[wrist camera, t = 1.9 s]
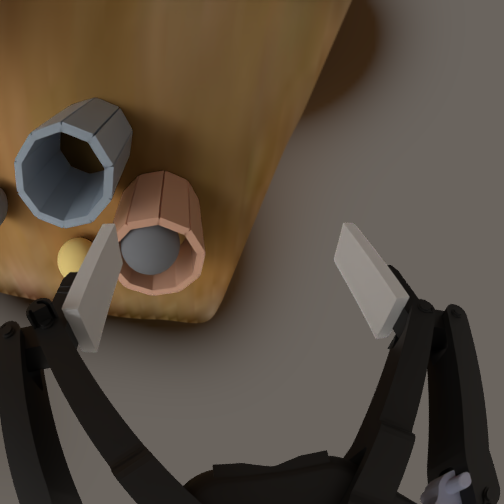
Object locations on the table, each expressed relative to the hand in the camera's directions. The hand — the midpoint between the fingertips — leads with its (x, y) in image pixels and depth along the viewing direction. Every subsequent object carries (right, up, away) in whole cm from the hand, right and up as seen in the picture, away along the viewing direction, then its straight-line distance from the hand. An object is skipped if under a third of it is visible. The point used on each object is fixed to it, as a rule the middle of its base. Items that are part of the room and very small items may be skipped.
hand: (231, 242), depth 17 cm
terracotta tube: (-10, +5, +19) cm, 22 cm away
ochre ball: (-22, 0, +20) cm, 29 cm away
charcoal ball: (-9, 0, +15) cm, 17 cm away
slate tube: (-17, +12, +11) cm, 23 cm away
